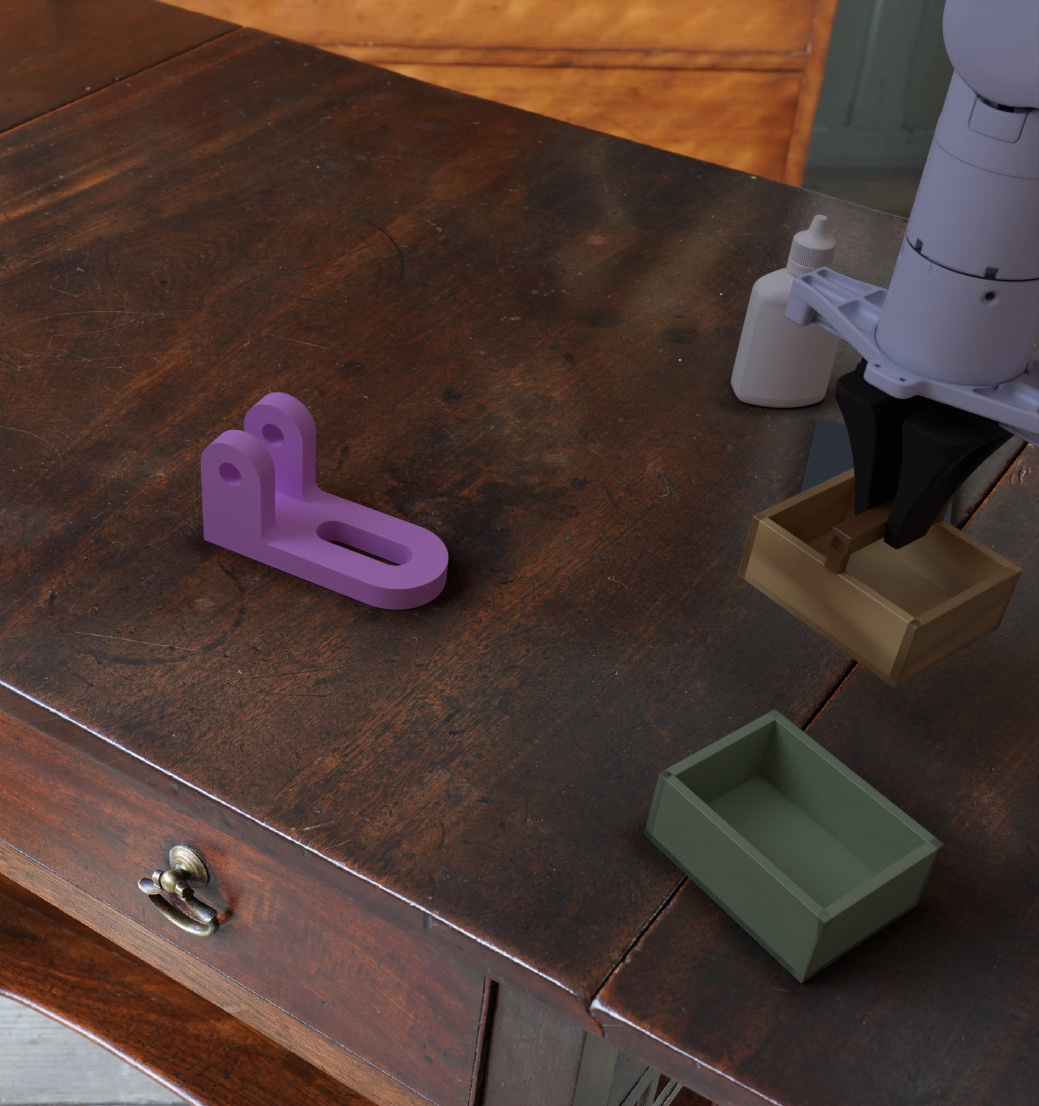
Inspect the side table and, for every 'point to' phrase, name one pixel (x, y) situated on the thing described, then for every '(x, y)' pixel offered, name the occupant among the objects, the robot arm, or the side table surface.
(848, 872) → the box
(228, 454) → the bracket
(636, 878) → the side table surface
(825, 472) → the mat
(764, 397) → the eye dropper bottle
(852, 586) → the top basket
